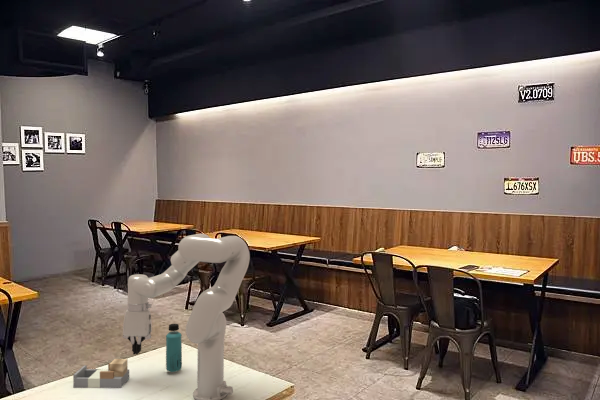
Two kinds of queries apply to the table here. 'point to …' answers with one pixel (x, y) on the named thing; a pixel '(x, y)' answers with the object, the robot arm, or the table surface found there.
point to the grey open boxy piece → (98, 378)
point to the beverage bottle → (173, 349)
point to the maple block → (119, 367)
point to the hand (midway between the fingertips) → (136, 353)
